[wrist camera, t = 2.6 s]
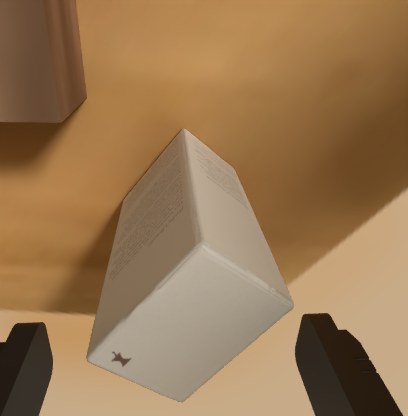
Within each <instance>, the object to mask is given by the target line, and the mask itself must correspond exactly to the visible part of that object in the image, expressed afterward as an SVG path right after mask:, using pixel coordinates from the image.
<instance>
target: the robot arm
mask: <svg viewBox="0 0 408 416" xmlns="http://www.w3.org/2000/svg"><path fill="white" fill-rule="evenodd" d="M295 357H296V363H297V366H298V370H299V372H300V375H301V378H302V381H303V383H304V386H305V389H306V391H307V394H308V397H309V400H310V402H311V405H312V408H313V410H314V413H315V416H403V415H402V413H401V411H400V410H399V408H398V406H397V404H396V403H395V401H394V399H393V398H392V396H391V394H390V392H389V391H388V389H387V387H386V386H385V384H384V382H383V381H382V379H381V377H380V375H379V374H378V373H376V369H375V367H374V365H373V364H372V362H371V361H370V360H369V357H368V355H367V353H366V352H365V350H364V348H363V347H362V345H361V343H360V342H359V341H358V340H357V339H356V338H355V337H354V336H353V335H351V334H350V333H349V332H348V331H347V330H338V329H337V327H336V325H335V323H334V321H333V320H332V318H331V316H330V315H329V314H328V313H319V314H304V315H303V317H302V320H301V324H300V329H299V333H298V338H297V342H296V347H295ZM52 369H53V357H52V352H51V348H50V343H49V339H48V335H47V330H46V326H45V324H44V323H43V322H40V323H38V322H37V323H17V324H15V325H14V327H13V328H12V330H11V332H10V334H9V336H8V338H7V340H6V342H0V416H39V413H40V410H41V406H42V404H43V401H44V397H45V394H46V391H47V388H48V385H49V382H50V379H51V375H52Z"/></svg>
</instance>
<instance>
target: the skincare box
mask: <svg viewBox="0 0 408 416" xmlns="http://www.w3.org/2000/svg"><path fill="white" fill-rule="evenodd" d="M293 307H294V303H293V300H292V298H291V296H290V293H289V291H288V289H287V286H286V284H285V282H284V280H283V278H282V275H281V273H280V271H279V268H278V266H277V264H276V262H275V259H274V257H273V255H272V253H271V250H270V248H269V246H268V244H267V241H266V239H265V237H264V235H263V233H262V230H261V228H260V226H259V224H258V221H257V219H256V217H255V214H254V212H253V210H252V208H251V205H250V203H249V201H248V199H247V196H246V194H245V192H244V190H243V187H242V185H241V183H240V180H239V178H238V176H237V174H236V171H235V169H234V168H233V167H232V166H230V165H229V164H228V163H226V162H225V161H224V160H223V159H221V158H220V157H219V156H218V155H217V154H215V153H214V152H213V151H212V150H211V149H209V148H208V147H207V146H206V145H205V144H203V143H202V142H201V141H200V140H198V139H197V138H196V137H195V136H194V135H192V134H191V133H190V132H189V131H188V130H186V129H182V130H181V131H180V132H179V133H178V135H177V136H176V137H175V138H174V139H173V140H172V142H171V143H170V144H169V145H168V147H167V148H166V149H165V150H164V151H163V153H162V154H161V155H160V156H159V157H158V159H157V160H156V161H155V162H154V163H153V165H152V166H151V167H150V168H149V170H148V171H147V172H146V173H145V174H144V176H143V177H142V178H141V179H140V180H139V182H138V183H137V184H136V185H135V187H134V188H133V189H132V190H131V191H130V193H129V194H128V195H127V196H126V197H125V199H124V200H123V204H122V208H121V213H120V217H119V221H118V225H117V229H116V234H115V238H114V242H113V247H112V251H111V255H110V259H109V264H108V268H107V271H106V276H105V280H104V284H103V288H102V293H101V297H100V301H99V305H98V309H97V313H96V317H95V321H94V325H93V329H92V334H91V339H90V343H89V348H88V352H87V357H86V358H87V361H88V362H89V363H91V364H93V365H96V366H98V367H100V368H103V369H105V370H107V371H110V372H112V373H114V374H117V375H119V376H121V377H123V378H126V379H128V380H130V381H132V382H134V383H137V384H139V385H141V386H143V387H145V388H148V389H150V390H152V391H154V392H156V393H159V394H161V395H163V396H166V397H168V398H171V399H173V400H176V401H178V402H183V401H185V400H186V399H187V398H189V397H190V396H191V395H192V394H193V393H194V392H195V391H196V390H197V389H199V388H200V387H201V386H202V385H203V384H204V383H205V382H207V381H208V380H209V379H210V378H211V377H212V376H214V375H215V374H216V373H217V372H218V371H219V370H221V369H222V368H223V367H224V366H225V365H227V364H228V363H229V362H230V361H231V360H232V359H234V358H235V357H236V356H237V355H238V354H240V353H241V352H242V351H243V350H244V349H245V348H246V347H248V346H249V345H250V344H251V343H252V342H254V341H255V340H256V339H257V338H258V337H259V336H260V335H262V334H263V333H264V332H265V331H266V330H268V329H269V328H270V327H271V326H272V325H274V324H275V323H276V322H277V321H278V320H279V319H281V318H282V317H283V316H284V315H285V314H286V313H288V312H289V311H291V310H292V309H293Z"/></svg>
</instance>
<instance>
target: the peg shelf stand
mask: <svg viewBox="0 0 408 416" xmlns="http://www.w3.org/2000/svg"><path fill="white" fill-rule="evenodd" d="M86 98H87V96H86V87H85V78H84V70H83V61H82V53H81V44H80V35H79V27H78V18H77V10H76V1H75V0H0V122H37V123H62V122H63V121H64V120H65V119H66V118H67V117H68V116H69V115H70V114H71V113H72V112H73V111H74V110H75V109H76V108H77V107H78V106H79V105H80V104H81V103H82V102H83V101H84V100H85V99H86Z"/></svg>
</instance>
